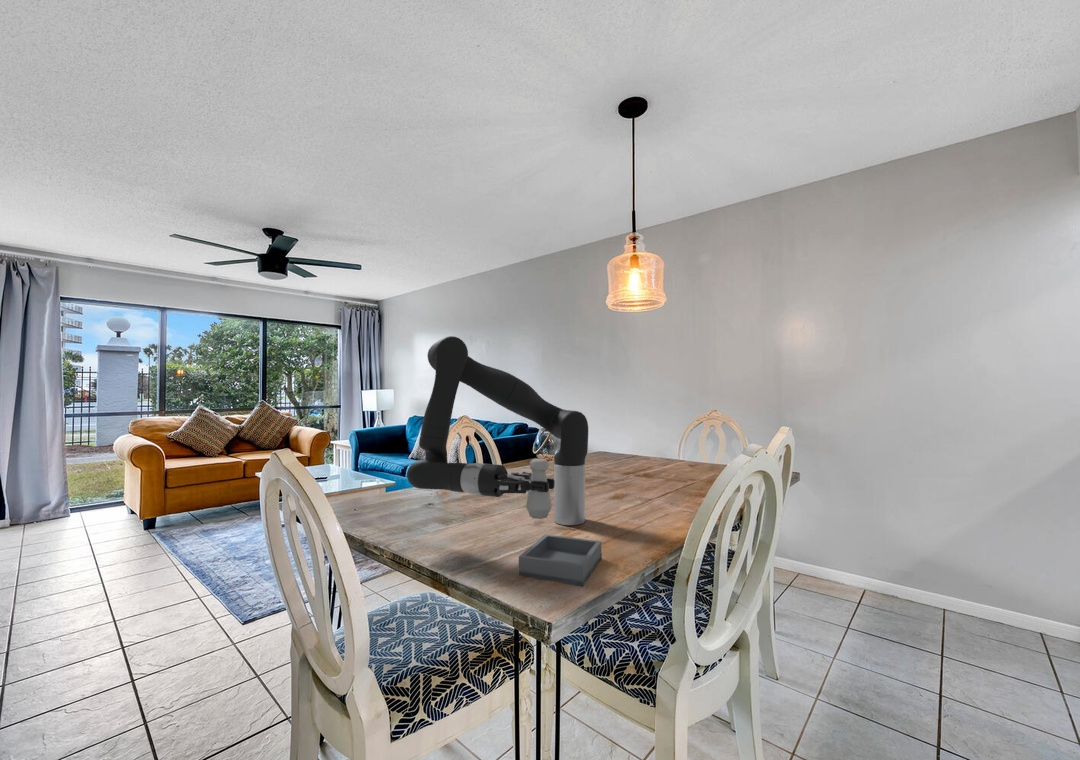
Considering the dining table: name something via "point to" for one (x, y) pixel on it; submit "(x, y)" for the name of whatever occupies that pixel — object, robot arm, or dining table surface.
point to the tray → (560, 559)
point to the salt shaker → (538, 501)
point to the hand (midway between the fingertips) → (551, 485)
